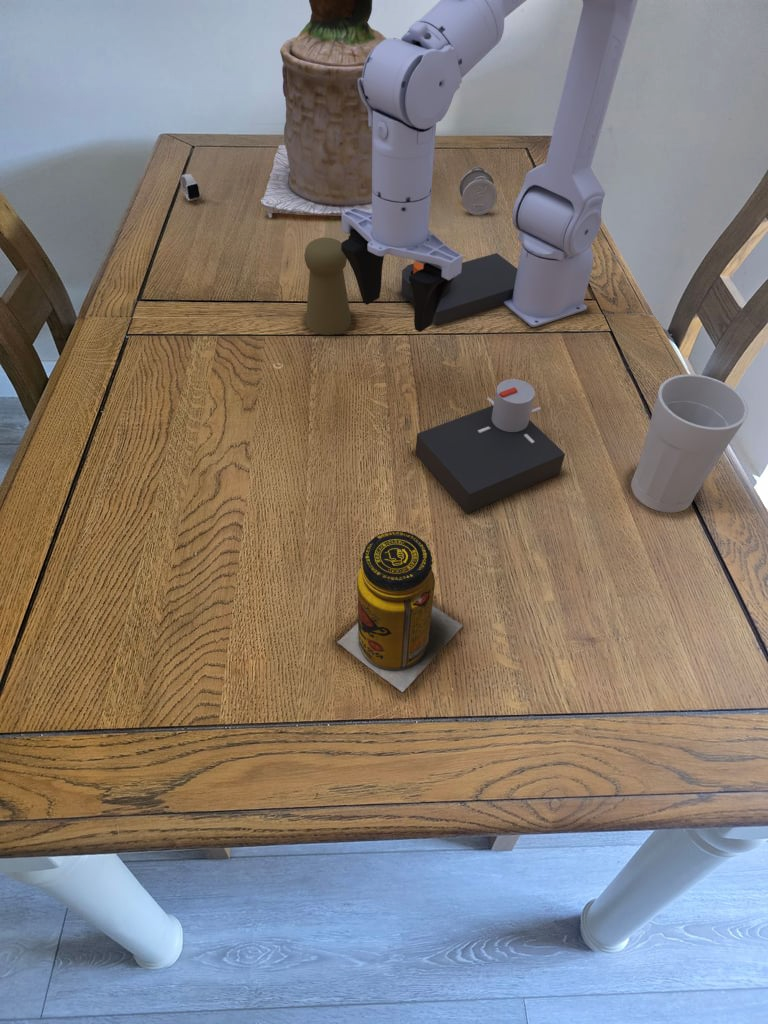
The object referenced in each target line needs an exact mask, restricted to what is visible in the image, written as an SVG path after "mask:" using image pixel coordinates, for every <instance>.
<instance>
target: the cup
mask: <svg viewBox="0 0 768 1024" xmlns="http://www.w3.org/2000/svg"><path fill="white" fill-rule="evenodd" d="M748 414H749V407H748V403H747V402H746V400H745V399H744V397H743V396H742V395H741V393H739V391H737V390H736V389H735V388H734V387H732V386H731V385H729V384H727V383H725V382H723V381H721V380H719V379H716V378H713V377H711V376H706V375H702V374H693V373H692V374H691V373H688V374H687V373H685V374H679V375H675V376H671V377H669V378H667V379H666V380H663V382H662V383H661V384H660V386H659V388H658V392H657V395H656V398H655V402H654V406H653V409H652V414H651V417H650V422H649V426H648V430H647V433H646V436H645V440H644V443H643V446H642V450H641V453H640V457H639V460H638V463H637V466H636V469H635V472H634V475H633V477H632V479H631V483H630V487H631V491H632V493H633V495H634V497H635V498H636V499H637V500H638V501H639V502H640V503H641V504H643V505H644V506H646V507H647V508H649V509H652V510H654V511H657V512H660V513H665V514H667V513H669V514H671V513H672V514H675V513H679V512H682V511H685V510H687V509H688V508H689V507H690V506H691V505H692V503H693V501H694V499H695V497H696V495H697V494H698V492H699V491H700V489H701V488H702V486H703V485H704V483H705V481H706V480H707V478H708V477H709V475H710V474H711V473H712V471H713V469H714V468H715V466H716V465H717V463H718V462H719V460H720V458H721V456H723V454H724V452H725V450H726V449H727V447H728V446H729V445H730V443H731V441H732V440H733V439H734V437H735V436H736V434H737V432H738V431H739V429H740V428H741V427H742V425H743V424H744V423H745V421H746V419H747V417H748Z"/></svg>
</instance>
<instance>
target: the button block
mask: <svg viewBox="0 0 768 1024" xmlns="http://www.w3.org/2000/svg"><path fill="white" fill-rule="evenodd" d="M413 266H414V262H413V263H410V264H408V265H406V266H405V267H404V268H403V269H402V270H401V295H402V296H403V297H404V298H405V299H406V300H407V301H408V302H409V303H410V304H411V305H412V306H414V307H415V304H414V296H413V291H412V287H411V284H410V281H409V276H410V275H412V274H413ZM517 269H518V267H516V266H514V265H513V263H510V262H509V261H508V260H507V259H505V258H504V257H503V256H502V255H500V254H499V253H497V252H495V253H492V254H487V255H485V256H481V257H477V258H474V259H471V260H467V261H464V262H463V261H462V269H461V273H460V274H458V275H457V276H456V277H455V278H454V279H453V281H452V282H451V283H450V285H449V286H448V288H447V290H446V291H445V293H444V295H443V297H442V299H441V301H440V303H439V305H438V307H437V310H436V313H435V315H434V318H433V321H432V325H434V327H437V326H441V325H444V324H447V323H450V322H454V321H456V320H457V321H458V320H460V319H463V318H466V317H469V316H472V315H476V314H479V313H483V312H485V311H488V310H491V309H494V308H498V307H502V306H505V305H504V301H507V300H510V299H512V297H513V292H514V286H515V280H516V275H517Z"/></svg>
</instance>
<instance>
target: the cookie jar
mask: <svg viewBox="0 0 768 1024" xmlns="http://www.w3.org/2000/svg"><path fill="white" fill-rule="evenodd" d="M308 3H309V6H310V10H311V11H310V12H311V14H310V19H309V21H308V22H307V23H306V25H304V28H302V30H301V31H300V33H299V34H298V35H297V36H296V37H292V38H289V39H286V41H285V42H284V43H283V44H282V46H281V47H280V50H279V53H280V56H281V61H282V69H281V70H282V71H281V72H282V93H283V96H284V97H285V123H284V128H283V141H284V144H280V145H278V148H277V151H276V153H275V155H274V157H273V163H272V164H273V166H272V167H271V169H272V170H271V172H270V174H269V179H268V181H267V184H266V190H265V192H264V195H263V197H262V198H261V199H260V203H261V206H262V207H264V209H265V210H266V214H267V215H268V218H269V219H270V218H273V214H277V213H278V214H288V215H289V214H290V215H300V216H301V215H302V216H329V217H331V216H332V217H333V216H334V217H336V216H337V217H342V213H343V212H345V211H348V210H350V209H352V208H354V207H355V208H357V209H360V210H363V211H367V212H371V213H372V130H371V127H369V126H368V110H367V108H366V106H365V105H364V103H363V102H362V100H361V97H360V94H359V90H358V79H359V78H361V77H362V72H363V67H364V64H365V61H366V59H367V57H368V55H369V53H370V52H371V51H372V50H373V49H374V48H375V47H376V46H377V45H379V44H380V43H381V42H382V41H384V40H386V39H388V38H387V37H386V36H384V35H383V34H382V33H381V32H380V31H378V30H376V29H374V28H372V27H371V26H370V24H369V23H368V22H369V21H370V17H371V15H372V11H373V0H308Z"/></svg>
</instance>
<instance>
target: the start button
mask: <svg viewBox="0 0 768 1024" xmlns="http://www.w3.org/2000/svg"><path fill="white" fill-rule="evenodd" d="M413 263H414V266H413V274H414V273H415V272H417V271H419V270H421V269H423V266H424V264H422V263H420V262H417V261H415V260H414V262H413Z"/></svg>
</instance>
